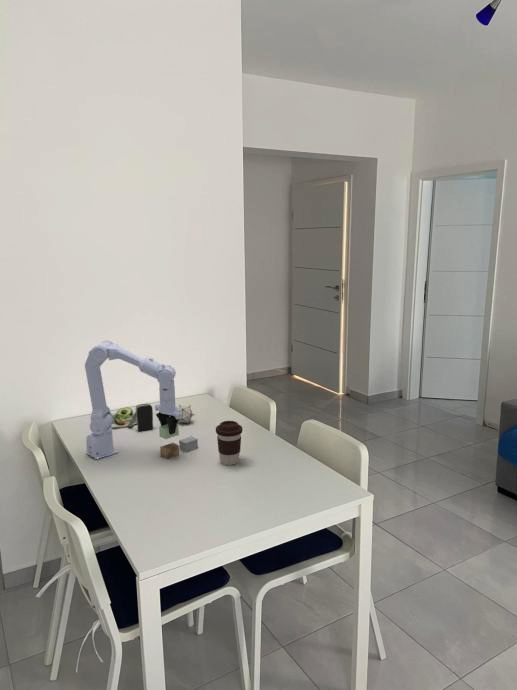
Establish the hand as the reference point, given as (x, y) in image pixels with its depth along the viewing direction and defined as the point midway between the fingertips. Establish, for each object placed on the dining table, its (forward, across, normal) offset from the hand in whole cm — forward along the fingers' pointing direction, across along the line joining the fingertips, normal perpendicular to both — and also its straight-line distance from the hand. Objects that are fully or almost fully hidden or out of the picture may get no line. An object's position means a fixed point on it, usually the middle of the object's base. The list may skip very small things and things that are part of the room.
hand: (168, 432), depth 202 cm
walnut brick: (+10, 0, 0) cm, 10 cm away
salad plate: (+10, +46, -6) cm, 47 cm away
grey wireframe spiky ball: (+10, +24, -25) cm, 36 cm away
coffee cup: (+10, -20, -13) cm, 26 cm away
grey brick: (+10, 0, -9) cm, 13 cm away
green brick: (+2, 0, 0) cm, 2 cm away
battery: (+10, +30, -8) cm, 32 cm away
